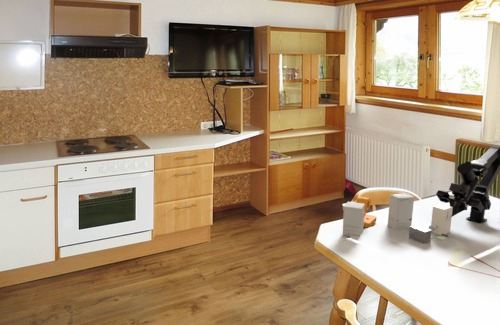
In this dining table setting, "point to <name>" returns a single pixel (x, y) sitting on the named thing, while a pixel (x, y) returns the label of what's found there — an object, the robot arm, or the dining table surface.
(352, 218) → the supplement box
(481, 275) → the dining table surface
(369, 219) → the bracket
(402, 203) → the skincare box
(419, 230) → the dark gray block
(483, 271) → the dining table surface
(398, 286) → the dining table surface
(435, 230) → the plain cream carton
